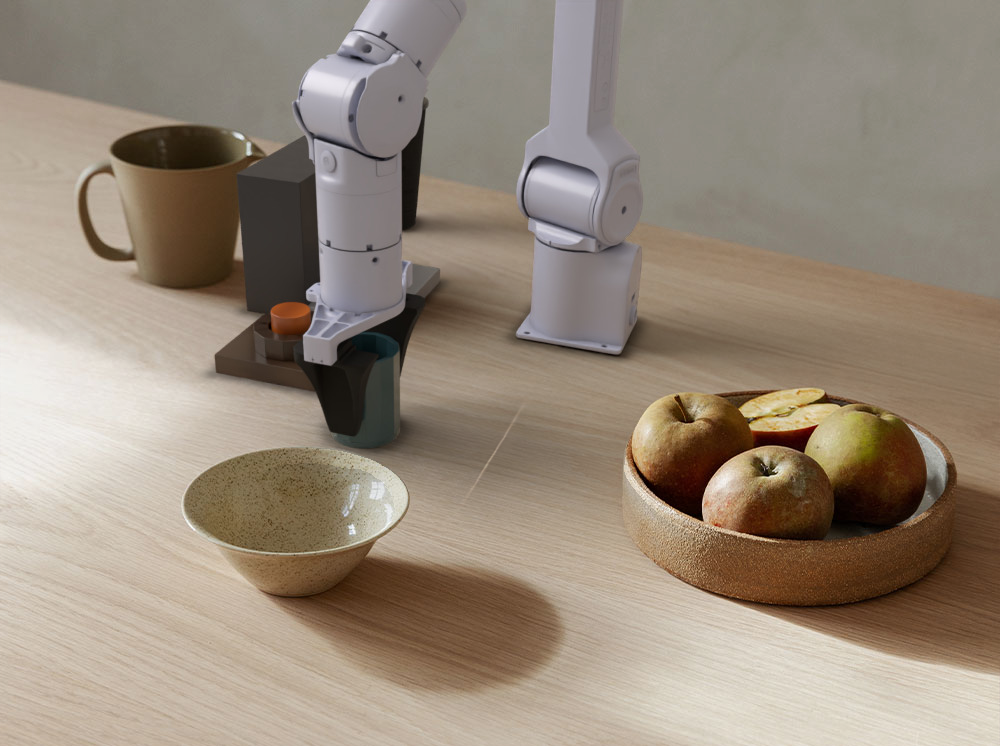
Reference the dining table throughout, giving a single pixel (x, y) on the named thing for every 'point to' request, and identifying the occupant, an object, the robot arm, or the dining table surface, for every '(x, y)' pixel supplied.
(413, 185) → the drinking cup
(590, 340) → the robot arm
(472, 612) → the dining table surface
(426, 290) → the coffee maker
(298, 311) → the brew button
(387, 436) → the creamer cup
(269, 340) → the button block
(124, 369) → the dining table surface
